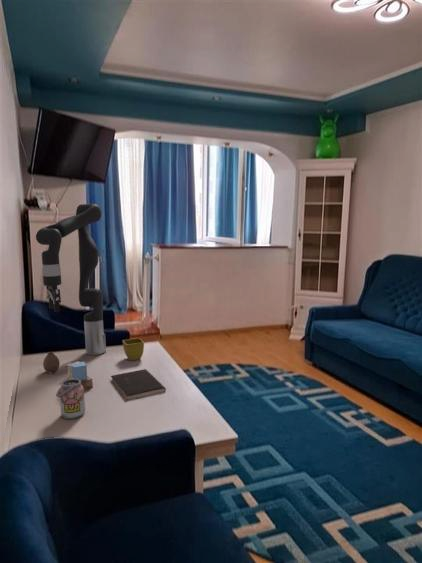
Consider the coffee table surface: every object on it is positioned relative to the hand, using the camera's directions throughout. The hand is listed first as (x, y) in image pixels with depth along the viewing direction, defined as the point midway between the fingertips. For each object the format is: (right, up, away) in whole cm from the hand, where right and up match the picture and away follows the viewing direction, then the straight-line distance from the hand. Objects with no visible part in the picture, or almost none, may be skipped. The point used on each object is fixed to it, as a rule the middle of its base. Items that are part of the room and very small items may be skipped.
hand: (54, 310), depth 187 cm
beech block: (+11, -29, -4) cm, 31 cm away
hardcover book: (+39, -31, -14) cm, 52 cm away
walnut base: (+16, -31, -15) cm, 38 cm away
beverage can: (+20, -35, -38) cm, 55 cm away
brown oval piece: (-3, -28, +4) cm, 28 cm away
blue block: (+16, -27, -15) cm, 35 cm away
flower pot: (+32, -25, +18) cm, 45 cm away
